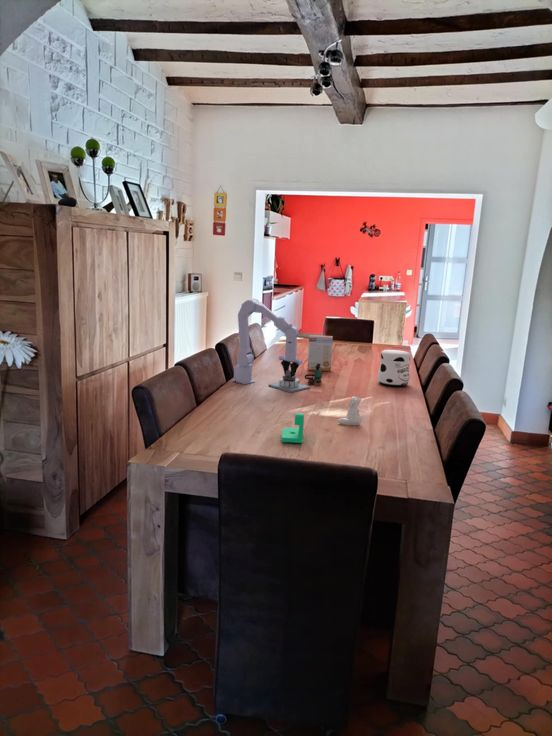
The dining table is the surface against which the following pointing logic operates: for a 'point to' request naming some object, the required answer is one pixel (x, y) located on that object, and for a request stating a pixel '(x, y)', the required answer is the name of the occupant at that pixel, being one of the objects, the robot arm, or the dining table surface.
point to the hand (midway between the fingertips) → (289, 375)
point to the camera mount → (294, 430)
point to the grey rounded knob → (288, 376)
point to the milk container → (394, 368)
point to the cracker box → (320, 352)
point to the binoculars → (317, 376)
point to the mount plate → (300, 387)
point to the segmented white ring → (289, 383)
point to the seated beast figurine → (352, 413)
